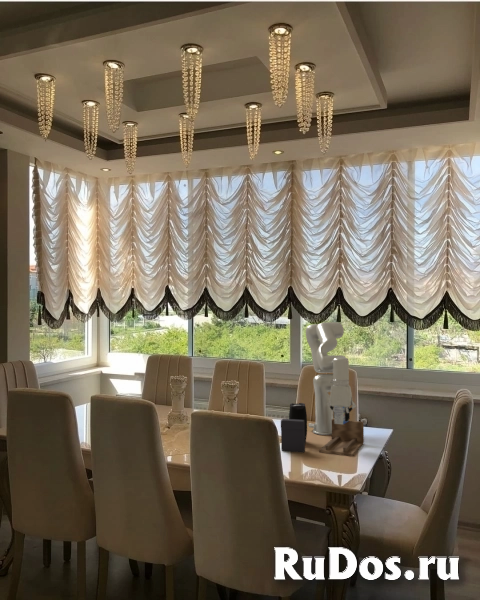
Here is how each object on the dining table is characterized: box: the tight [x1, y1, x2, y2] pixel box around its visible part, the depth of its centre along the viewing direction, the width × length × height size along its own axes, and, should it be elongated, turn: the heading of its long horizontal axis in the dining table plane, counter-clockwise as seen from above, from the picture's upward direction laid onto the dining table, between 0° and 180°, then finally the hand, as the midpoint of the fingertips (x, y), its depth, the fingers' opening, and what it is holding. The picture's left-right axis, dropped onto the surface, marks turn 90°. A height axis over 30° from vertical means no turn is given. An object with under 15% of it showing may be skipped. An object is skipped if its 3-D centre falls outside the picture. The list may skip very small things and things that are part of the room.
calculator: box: [280, 418, 306, 454], centre depth 255 cm, size 11×4×15 cm, turn 71°
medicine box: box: [333, 406, 350, 425], centre depth 259 cm, size 8×4×9 cm, turn 148°
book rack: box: [318, 418, 365, 457], centre depth 259 cm, size 16×22×11 cm
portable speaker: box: [288, 402, 308, 444], centre depth 270 cm, size 9×9×20 cm
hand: (341, 419), depth 259 cm, fingers closed on medicine box, 4 cm apart
